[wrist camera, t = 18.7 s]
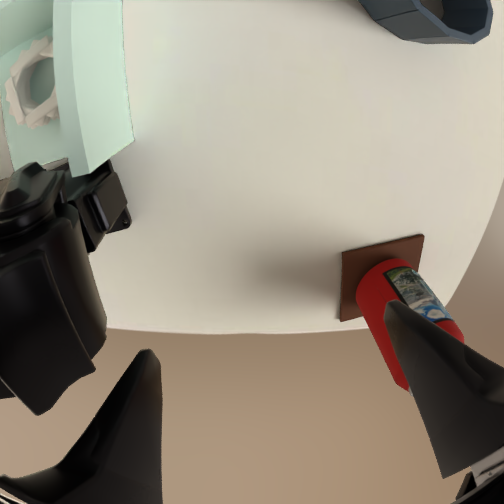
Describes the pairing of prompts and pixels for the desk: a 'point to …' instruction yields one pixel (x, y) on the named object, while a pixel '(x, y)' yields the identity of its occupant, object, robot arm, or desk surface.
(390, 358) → the beverage can
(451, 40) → the can holder
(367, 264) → the mat
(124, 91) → the l-shaped corner panel
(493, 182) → the desk surface
